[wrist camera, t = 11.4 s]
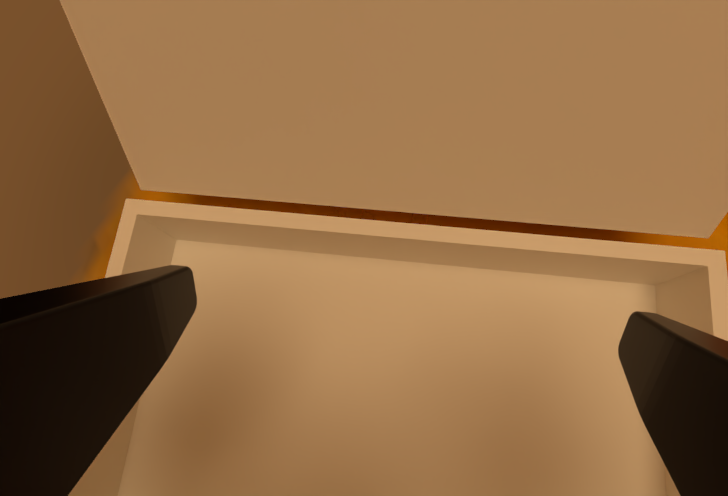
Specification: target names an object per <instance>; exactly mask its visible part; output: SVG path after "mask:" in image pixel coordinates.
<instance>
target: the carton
mask: <svg viewBox="0 0 728 496" xmlns="http://www.w3.org/2000/svg"><path fill="white" fill-rule="evenodd" d="M168 265H179V266H187V267H189V268H191V270H192V272H193V277H194V283H195V289H196V295H197V306H196V310H195V312H194V314H193V316H192V318H191V319H190V321H189V323H188V325H187V326H186V328H185V330H184V332H183V334H182V335H181V337H180V339H179V341H178V342H177V344H176V346H175V348H174V350H173V351H172V353H171V355H170V356H169V358H168V360H167V361H166V362H165V364H164V365H163V367H162V368H161V370H160V371H159V372H158V374H157V375H156V376H155V378H154V379H153V381H152V382H151V383H150V385H149V386H148V387H147V389H146V390H145V391H144V393H143V394H142V396H141V397H140V398H139V400H138V401H137V402H136V404H135V405H134V406H133V408H132V409H131V411H130V412H129V413H128V415H127V416H126V417H125V419H124V420H123V421H122V423H121V424H120V426H119V427H118V428H117V430H116V431H115V432H114V434H113V435H112V436H111V438H110V439H109V441H108V442H107V443H106V445H105V446H104V447H103V449H102V450H101V451H100V453H99V454H98V456H97V457H96V458H95V460H94V461H93V462H92V464H91V465H90V466H89V468H88V469H87V471H86V472H85V473H84V475H83V476H82V477H81V479H80V480H79V481H78V483H77V484H76V486H75V487H74V488H73V490H72V491H71V492H70V494H69V495H68V496H680V494H679V492H678V490H677V488H676V486H675V484H674V482H673V480H672V478H671V476H670V474H669V472H668V470H667V468H666V466H665V464H664V462H663V460H662V458H661V457H660V455H659V453H658V451H657V449H656V447H655V445H654V443H653V441H652V439H651V437H650V435H649V433H648V431H647V429H646V427H645V425H644V423H643V421H642V418H641V416H640V414H639V411H638V409H637V406H636V404H635V401H634V398H633V395H632V393H631V390H630V387H629V384H628V382H627V379H626V376H625V373H624V370H623V368H622V365H621V362H620V359H619V355H618V346H619V342H620V340H621V337H622V334H623V332H624V329H625V327H626V324H627V321H628V319H629V317H630V315H631V314H632V313H633V312H636V311H640V312H650V313H656V314H659V315H662V316H664V317H667V318H669V319H672V320H675V321H677V322H680V323H682V324H685V325H687V326H690V327H693V328H695V329H698V330H700V331H703V332H706V333H708V334H711V335H713V336H716V337H718V338H721V339H724V340H726V341H728V278H727V267H726V256H725V251H721V250H710V249H698V248H687V247H675V246H664V245H652V244H641V243H630V242H618V241H607V240H595V239H584V238H572V237H561V236H549V235H538V234H527V233H515V232H504V231H492V230H481V229H469V228H458V227H446V226H435V225H424V224H412V223H401V222H389V221H378V220H366V219H355V218H343V217H332V216H321V215H309V214H298V213H286V212H275V211H263V210H252V209H240V208H229V207H217V206H206V205H195V204H183V203H172V202H160V201H149V200H137V199H126V201H125V205H124V208H123V212H122V216H121V220H120V223H119V227H118V231H117V235H116V238H115V242H114V246H113V250H112V253H111V257H110V261H109V265H108V268H107V272H106V276H105V278H108V277H113V276H118V275H123V274H128V273H133V272H138V271H143V270H148V269H153V268H158V267H163V266H168Z"/></svg>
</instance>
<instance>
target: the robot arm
mask: <svg viewBox="0 0 728 496" xmlns="http://www.w3.org/2000/svg"><path fill="white" fill-rule="evenodd" d="M196 306H197V295H196V289H195V283H194V277H193V272H192V270H191V268H189V267H187V266H179V265H168V266H163V267H158V268H153V269H148V270H143V271H138V272H133V273H128V274H123V275H118V276H113V277H108V278H103V279H98V280H93V281H88V282H83V283H77V284H72V285H67V286H62V287H57V288H52V289H47V290H43V291H37V292H32V293H27V294H22V295H17V296H12V297H7V298H2V299H0V496H68V495H69V494H70V492H71V491H72V490H73V488H74V487H75V486H76V484H77V483H78V481H79V480H80V479H81V477H82V476H83V475H84V473H85V472H86V471H87V469H88V468H89V466H90V465H91V464H92V462H93V461H94V460H95V458H96V457H97V456H98V454H99V453H100V451H101V450H102V449H103V447H104V446H105V445H106V443H107V442H108V441H109V439H110V438H111V436H112V435H113V434H114V432H115V431H116V430H117V428H118V427H119V426H120V424H121V423H122V421H123V420H124V419H125V417H126V416H127V415H128V413H129V412H130V411H131V409H132V408H133V406H134V405H135V404H136V402H137V401H138V400H139V398H140V397H141V396H142V394H143V393H144V391H145V390H146V389H147V387H148V386H149V385H150V383H151V382H152V381H153V379H154V378H155V376H156V375H157V374H158V372H159V371H160V370H161V368H162V367H163V365H164V364H165V362H166V361H167V360H168V358H169V356H170V355H171V353H172V351H173V350H174V348H175V346H176V344H177V342H178V341H179V339H180V337H181V335H182V334H183V332H184V330H185V328H186V326H187V325H188V323H189V321H190V319H191V318H192V316H193V314H194V312H195V310H196ZM618 355H619V359H620V362H621V365H622V368H623V370H624V373H625V376H626V379H627V382H628V384H629V387H630V390H631V393H632V395H633V398H634V401H635V404H636V406H637V409H638V411H639V414H640V416H641V418H642V421H643V423H644V425H645V427H646V429H647V431H648V433H649V435H650V437H651V439H652V441H653V443H654V445H655V447H656V449H657V451H658V453H659V455H660V457H661V458H662V460H663V462H664V464H665V466H666V468H667V470H668V472H669V474H670V476H671V478H672V480H673V482H674V484H675V486H676V488H677V490H678V492H679V494H680V496H728V341H726V340H724V339H721V338H718V337H716V336H713V335H711V334H708V333H706V332H703V331H700V330H698V329H695V328H693V327H690V326H687V325H685V324H682V323H680V322H677V321H675V320H672V319H669V318H667V317H664V316H662V315H659V314H656V313H650V312H640V311H636V312H633V313H632V314H631V315H630V317H629V319H628V321H627V324H626V327H625V329H624V332H623V334H622V337H621V340H620V342H619V346H618Z"/></svg>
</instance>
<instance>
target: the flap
mask: <svg viewBox="0 0 728 496" xmlns="http://www.w3.org/2000/svg"><path fill="white" fill-rule="evenodd" d="M60 2H61V5H62V7H63V9H64V12H65V14H66V16H67V19H68V21H69V23H70V26H71V28H72V30H73V33H74V35H75V37H76V39H77V42H78V44H79V47H80V49H81V51H82V53H83V56H84V58H85V60H86V63H87V65H88V67H89V70H90V72H91V74H92V77H93V79H94V82H95V84H96V86H97V88H98V91H99V93H100V96H101V98H102V100H103V103H104V105H105V107H106V110H107V112H108V114H109V116H110V119H111V121H112V124H113V126H114V128H115V131H116V133H117V135H118V138H119V140H120V142H121V145H122V147H123V149H124V152H125V154H126V156H127V159H128V161H129V163H130V166H131V168H132V170H133V173H134V175H135V177H136V180H137V182H138V184H139V187H140V189H141V190H148V191H160V192H172V193H184V194H195V195H207V196H219V197H230V198H242V199H254V200H266V201H277V202H289V203H301V204H313V205H324V206H336V207H348V208H360V209H371V210H383V211H395V212H406V213H418V214H430V215H442V216H453V217H465V218H477V219H489V220H500V221H512V222H524V223H536V224H547V225H559V226H571V227H582V228H594V229H606V230H618V231H629V232H641V233H653V234H665V235H676V236H688V237H700V238H709V237H710V235H711V234H712V233H713V231H714V230H715V228H716V227H717V226H718V224H719V223H720V221H721V220H722V219H723V217H724V216H725V215H726V213H727V212H728V0H60Z"/></svg>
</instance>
